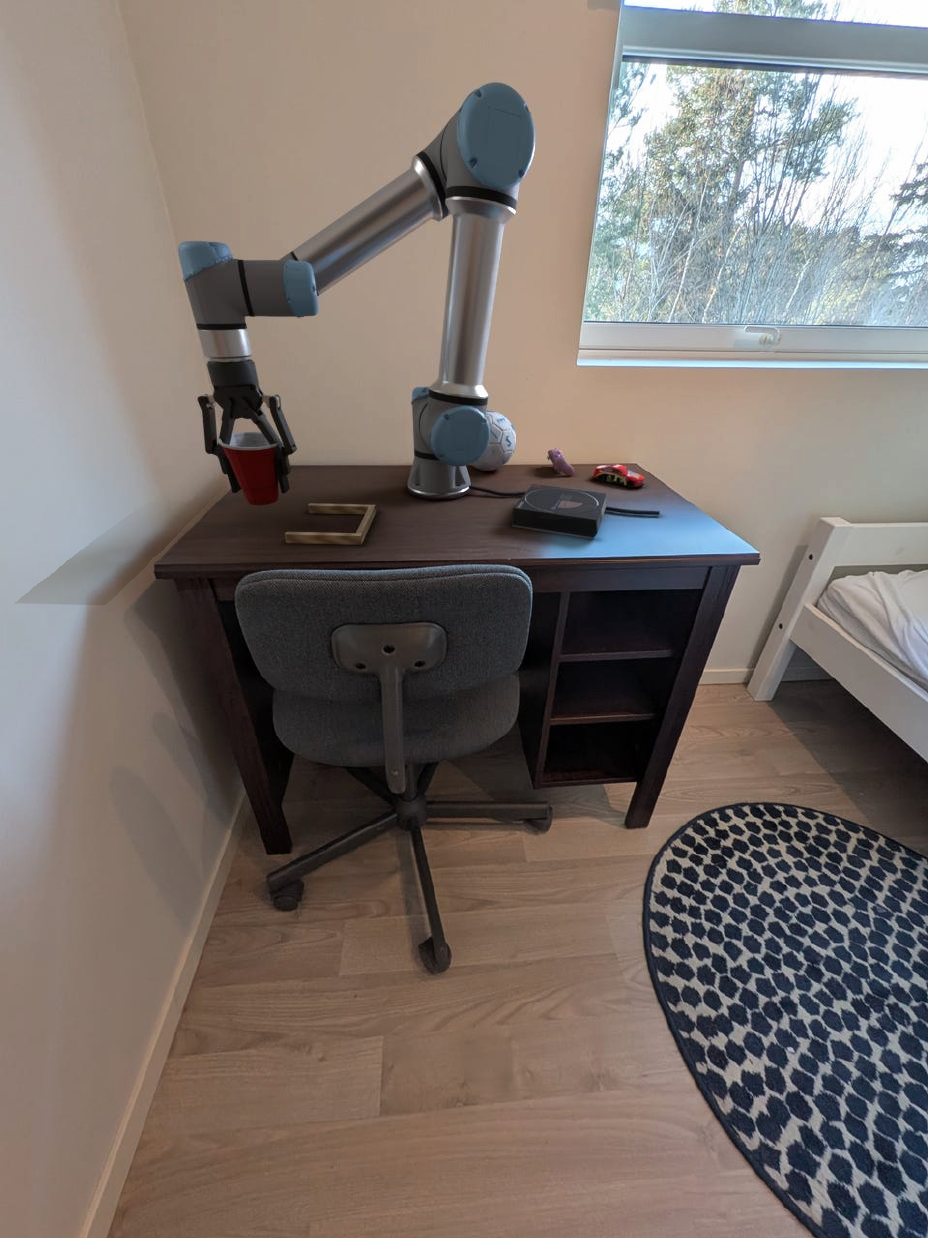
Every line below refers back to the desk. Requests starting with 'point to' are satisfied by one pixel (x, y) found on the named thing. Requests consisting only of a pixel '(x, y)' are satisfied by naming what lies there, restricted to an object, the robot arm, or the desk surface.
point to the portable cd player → (560, 511)
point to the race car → (618, 475)
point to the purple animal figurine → (560, 462)
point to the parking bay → (336, 537)
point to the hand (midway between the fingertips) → (261, 490)
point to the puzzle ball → (497, 443)
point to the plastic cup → (254, 466)
